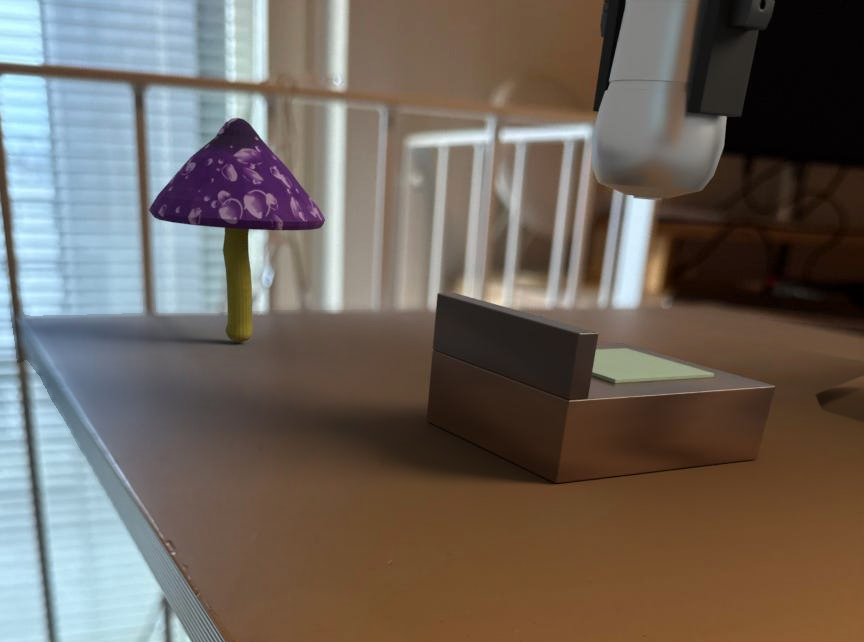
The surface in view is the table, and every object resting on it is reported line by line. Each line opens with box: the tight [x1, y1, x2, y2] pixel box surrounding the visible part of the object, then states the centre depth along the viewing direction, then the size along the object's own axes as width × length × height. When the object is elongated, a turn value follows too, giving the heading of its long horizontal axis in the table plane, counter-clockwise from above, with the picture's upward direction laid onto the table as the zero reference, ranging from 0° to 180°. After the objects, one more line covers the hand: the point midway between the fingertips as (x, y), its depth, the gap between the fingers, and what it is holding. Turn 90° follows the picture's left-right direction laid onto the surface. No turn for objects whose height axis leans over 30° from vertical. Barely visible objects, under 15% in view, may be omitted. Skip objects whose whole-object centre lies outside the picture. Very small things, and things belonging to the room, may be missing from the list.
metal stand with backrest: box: [426, 292, 776, 484], centre depth 52 cm, size 14×12×7 cm
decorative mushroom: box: [148, 117, 326, 344], centre depth 69 cm, size 12×12×15 cm
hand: (663, 112), depth 47 cm, fingers closed on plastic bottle, 6 cm apart
